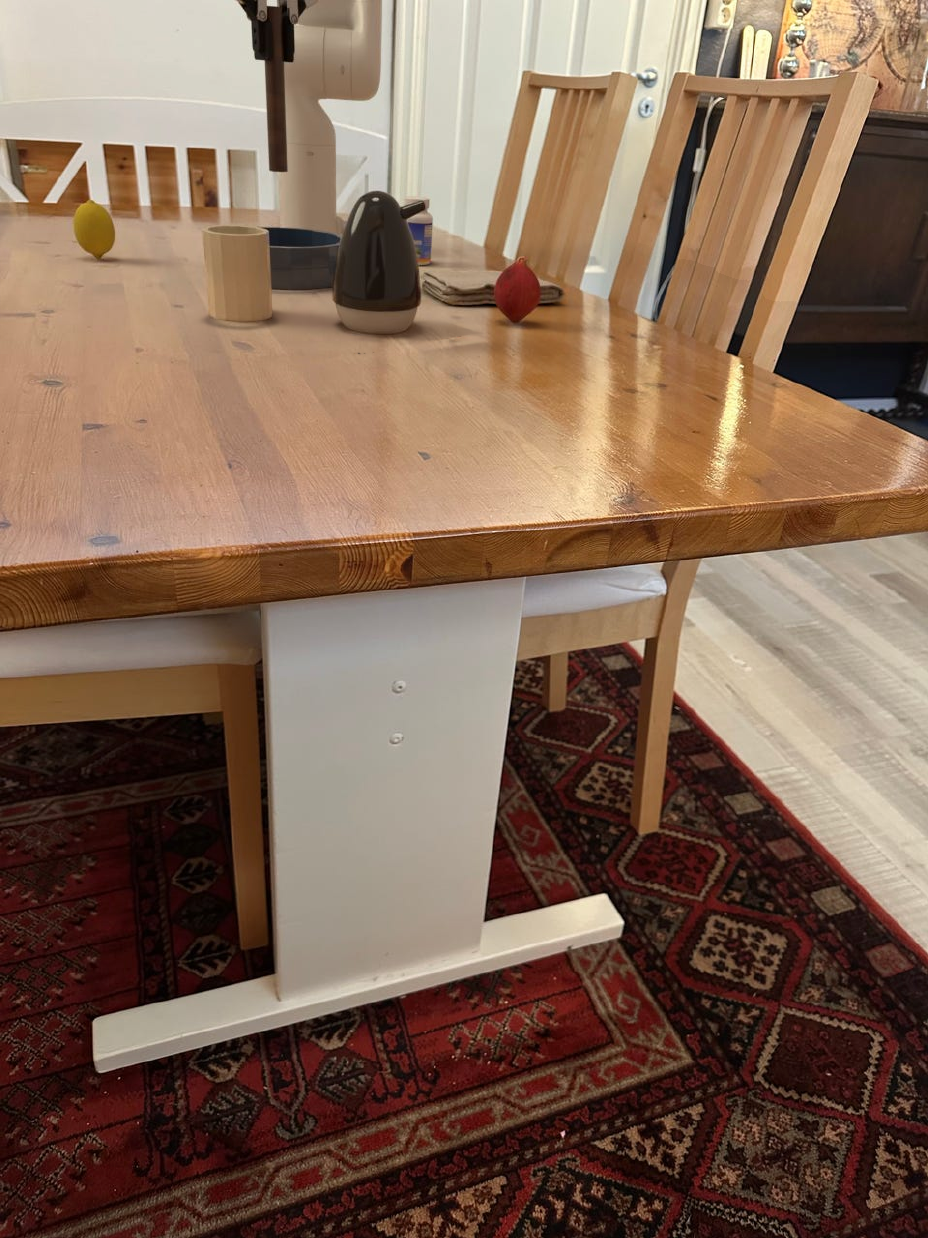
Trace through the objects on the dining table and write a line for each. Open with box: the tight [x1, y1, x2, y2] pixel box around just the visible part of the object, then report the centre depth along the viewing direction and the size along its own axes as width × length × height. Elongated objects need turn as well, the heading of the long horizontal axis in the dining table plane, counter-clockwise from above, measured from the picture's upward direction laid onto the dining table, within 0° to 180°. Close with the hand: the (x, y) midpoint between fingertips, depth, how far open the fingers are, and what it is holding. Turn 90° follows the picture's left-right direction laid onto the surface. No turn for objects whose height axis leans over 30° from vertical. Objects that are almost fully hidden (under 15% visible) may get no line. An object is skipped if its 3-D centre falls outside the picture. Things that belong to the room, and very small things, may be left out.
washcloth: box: [420, 269, 565, 306], centre depth 126 cm, size 12×18×3 cm, turn 111°
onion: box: [494, 255, 541, 324], centre depth 113 cm, size 6×6×8 cm
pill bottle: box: [403, 195, 434, 266], centre depth 144 cm, size 5×5×10 cm
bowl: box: [258, 226, 341, 291], centre depth 125 cm, size 18×18×6 cm
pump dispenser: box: [331, 190, 426, 335], centre depth 102 cm, size 10×10×15 cm
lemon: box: [73, 199, 116, 260], centre depth 130 cm, size 6×6×8 cm
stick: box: [264, 5, 288, 173], centre depth 114 cm, size 2×2×18 cm
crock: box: [201, 224, 273, 323], centre depth 104 cm, size 7×7×10 cm
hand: (274, 59), depth 112 cm, fingers closed on stick, 2 cm apart
